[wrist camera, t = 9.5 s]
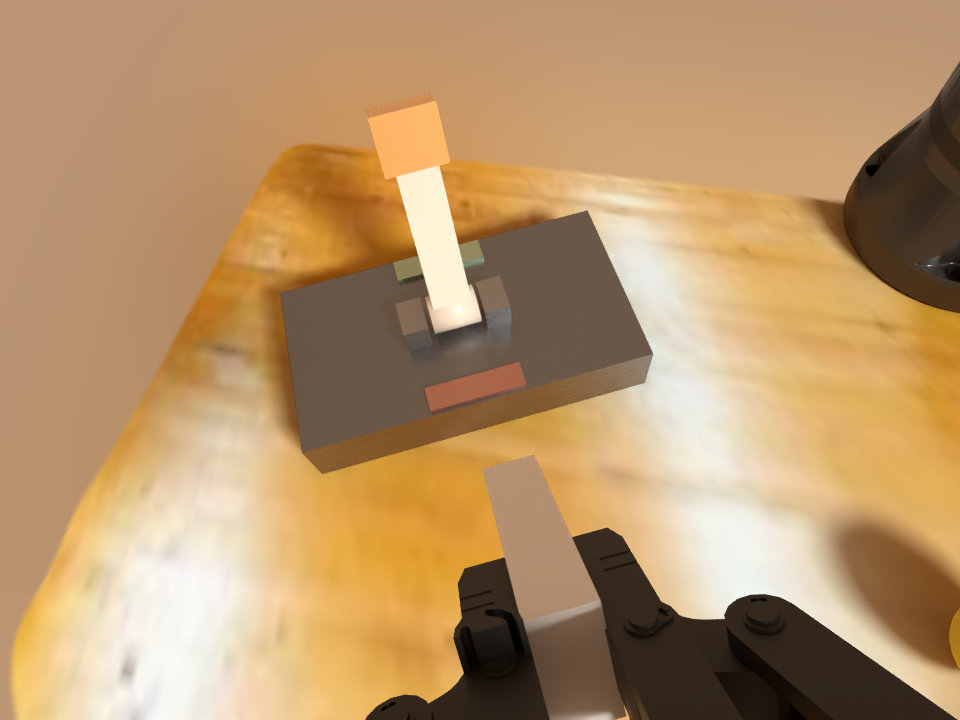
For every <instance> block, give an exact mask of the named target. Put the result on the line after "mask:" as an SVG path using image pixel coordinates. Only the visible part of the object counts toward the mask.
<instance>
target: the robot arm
mask: <svg viewBox="0 0 960 720" xmlns="http://www.w3.org/2000/svg"><path fill="white" fill-rule="evenodd" d="M844 220H845V226H846V230H847V232H848V235H849V238H850V240H851V242H852V244H853V246H854V248H855V249H856V251H857V252H858V254H859V255H860V256H861V258H862V259H863V260H864V261H865V262H866V264H867V265H868V266H869V267H870V268H871V269H872V270H873V271H874V272H875V273H876V274H878V275H879V276H880V277H881V278H882V279H884V280H885V281H886V282H888V283H889V284H890V285H892V286H893V287H895V288H897V289H898V290H900V291H901V292H903V293H905V294H907V295H909V296H911V297H913V298H915V299H917V300H919V301H922V302H924V303H927V304H929V305H932V306H935V307H938V308H942V309H945V310H949V311H953V312H958V313H960V62H959V63H958V65H957V66H956V68H955V69H954V71H953V72H952V74H951V75H950V77H949V79H948V80H947V82H946V83H945V85H944V87H943V88H942V90H941V91H940V93H939V94H938V96H937V98H936V99H935V101H934V102H933V104H932V105H931V106H930V107H929V108H928V109H926V110H925V111H924V112H923V113H921V114H920V115H919V116H918V117H917V118H915V119H914V120H913V121H912V122H910V123H909V124H908V125H907V126H905V127H904V128H903V129H902V130H901V131H899V132H898V133H897V134H896V135H894V136H893V137H892V138H891V139H889V140H888V141H887V142H886V143H884V144H883V145H882V146H881V147H880V148H878V149H877V150H876V151H875V152H874V153H873V154H872V155H871V156H870V157H869V158H868V160H867V161H866V162H865V163H864V165H863V166H862V168H861V169H860V171H859V173H858V175H857V176H856V178H855V180H854V181H853V183H852V185H851V187H850V188H849V191H848V193H847V196H846V199H845V204H844ZM483 473H484V477H485V481H486V485H487V489H488V493H489V497H490V501H491V505H492V509H493V513H494V516H495V520H496V524H497V528H498V532H499V536H500V540H501V544H502V548H503V552H504V556H505V558H501V559H497V560H494V561H490V562H487V563H483V564H479V565H476V566H472V567H468V568H465V569H464V571H463V573H462V576H461V578H460V580H459V582H458V589H459V598H460V606H461V613H462V619H461V621H460V622H459V624H458V625H457V627H456V628H455V632H454V638H453V639H454V642H455V645H456V649H457V652H458V655H459V658H460V662H461V665H462V668H463V671H464V674H463V675H462V677H461V678H460V680H459V681H458V683H457V684H456V685H455V686H454V687H453V688H452V689H451V690H449V691H448V692H446V693H445V694H444V695H442V696H441V697H439V698H437V699H435V700H434V701H432V702H430V703H429V704H428V703H427V701H426V700H424V699H422V698H420V697H418V696H415V695H401V696H397V697H393V698H390V699H389V700H387V701H385V702H383V703H382V704H380V705H378V706H377V707H376V708H375V709H374V710H373V711H372V712H371V713H370V714H369V715H368V716H367V718H366V720H615V719H618V718H622V717H625V716H626V713H625V708H626V710H627V713H628V715H629V717H630V720H957V719H956V718H954V717H953V716H951V715H950V714H949V713H947V712H946V711H944V710H943V709H941V708H940V707H939V706H937V705H936V704H934V703H933V702H932V701H930V700H929V699H927V698H926V697H924V696H923V695H922V694H920V693H919V692H917V691H916V690H914V689H913V688H912V687H910V686H909V685H907V684H906V683H905V682H903V681H902V680H900V679H899V678H897V677H896V676H895V675H893V674H892V673H890V672H889V671H887V670H886V669H885V668H883V667H882V666H880V665H879V664H878V663H876V662H875V661H873V660H872V659H870V658H869V657H868V656H866V655H865V654H863V653H862V652H860V651H859V650H858V649H856V648H855V647H853V646H852V645H851V644H849V643H848V642H846V641H845V640H843V639H842V638H841V637H839V636H838V635H836V634H835V633H833V632H832V631H831V630H829V629H828V628H826V627H825V626H824V625H822V624H821V623H819V622H818V621H816V620H815V619H814V618H812V617H811V616H809V615H808V614H806V613H805V612H804V611H802V610H801V609H799V608H798V607H797V606H795V605H794V604H792V603H790V602H788V601H786V600H784V599H782V598H780V597H776V596H771V595H766V594H759V595H748V596H745V597H742V598H739V599H737V600H736V601H734V602H733V603H732V604H730V605H729V606H728V608H727V610H726V612H725V615H724V616H725V619H712V620H701V619H691V618H686V617H682V616H680V615H678V613H677V612H676V611H675V610H674V609H673V608H672V607H671V606H669V605H667V604H665V603H662V602H661V601H660V599H659V597H658V596H657V594H656V592H655V590H654V589H653V587H652V585H651V584H650V582H649V580H648V579H647V577H646V575H645V574H644V572H643V570H642V569H641V567H640V565H639V564H638V563H637V560H636V559H635V557H634V555H633V554H632V552H631V551H630V549H629V547H628V545H627V544H626V542H625V540H624V539H623V537H622V536H620V535H619V534H617V533H615V532H614V531H612V530H610V529H609V528H604V529H601V530H597V531H593V532H590V533H586V534H582V535H579V536H575V537H571V534H570V532H569V530H568V528H567V526H566V523H565V521H564V519H563V517H562V515H561V512H560V510H559V508H558V506H557V504H556V501H555V499H554V497H553V495H552V493H551V490H550V488H549V486H548V484H547V482H546V480H545V477H544V475H543V473H542V471H541V469H540V466H539V464H538V462H537V460H536V458H535V455H532V456H528V457H524V458H521V459H517V460H513V461H509V462H506V463H502V464H498V465H495V466H491V467H487V468H484V469H483ZM623 703H624V704H623ZM624 705H625V708H624Z"/></svg>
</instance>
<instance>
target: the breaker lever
mask: <svg viewBox="0 0 960 720" xmlns="http://www.w3.org/2000/svg"><path fill="white" fill-rule="evenodd" d="M366 111H367V117H368V121H369V125H370V128H371V131H372V135H373V138H374V142H375V145H376V149H377V152H378V156H379V159H380V163H381V166H382V170H383V173H384V177H385V179H389V178H393V177H396V178H397V181H398V185H399V188H400V192H401V195H402V199H403V203H404V206H405V210H406V213H407V217H408V220H409V224H410V228H411V231H412V235H413V238H414V242H415V245H416V249H417V253H418V256H419V260H420V263H421V267H422V271H423V274H424V278H425V281H426V285H427V288H428V292H429V296H427V297H425V299H426V303H427V307H428V310H429V314H430V317H431V321H432V325H433V328H434V331H435V334H438V333H441V332H445V331H449V330H452V329H456V328H460V327H463V326H467V325H470V324H474V323H478V322H481V315H480V310H479V306H478V303H477V299H476V296H475V292H474V289H473V287H472V285H468V283H467V279H466V275H465V271H464V266H463V262H462V258H461V254H460V250H459V246H458V242H457V238H456V233H455V229H454V225H453V221H452V217H451V213H450V209H449V205H448V200H447V196H446V192H445V188H444V184H443V180H442V176H441V172H440V167H439V165H442V164H446V163H450V159H449V155H448V151H447V146H446V142H445V138H444V134H443V129H442V125H441V120H440V116H439V112H438V108H437V103H436V100H435V99H434V98H433V96H432V95H431V94H426V95H422V96H418V97H414V98H410V99H407V100H403V101H399V102H395V103H391V104H387V105H384V106H380V107H376V108H372V109H368V110H366Z"/></svg>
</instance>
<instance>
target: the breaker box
mask: <svg viewBox="0 0 960 720" xmlns="http://www.w3.org/2000/svg"><path fill="white" fill-rule="evenodd" d="M458 246H459V250H460V254H461V258H462V262H463V266H464V271H465V275H466V279H467V283H468V285H472V287H473V289H474V292H475V296H476V299H477V303H478V306H479V310H480V315H481V322H478V323H474V324H470V325H467V326H463V327H460V328H456V329H452V330H449V331H445V332H441V333H438V334H435V331H434V328H433V325H432V321H431V317H430V314H429V310H428V307H427V303H426V299H425V297H427V296H429V292H428V288H427V285H426V281H425V278H424V274H423V271H422V267H421V263H420V260H419V256H415V257H411V258H407V259H404V260H400V261H396V262H393V263H390V264H387V265H383V266H379V267H376V268H372V269H368V270H364V271H361V272H357V273H353V274H350V275H346V276H342V277H338V278H335V279H331V280H327V281H324V282H320V283H316V284H312V285H309V286H305V287H301V288H298V289H294V290H290V291H286V292H283V293H280V295H281V303H282V310H283V317H284V324H285V332H286V339H287V346H288V353H289V360H290V368H291V375H292V382H293V389H294V396H295V404H296V411H297V418H298V425H299V433H300V440H301V447H302V453H303V454H304V455H305V456H306V457H307V458H308V459H309V460H310V461H311V462H312V463H313V464H314V465H315V467H316V468H317V469H318V470H319V471H320V472H321V473H322V474H324V473H328V472H331V471H335V470H338V469H342V468H345V467H349V466H352V465H356V464H359V463H363V462H366V461H370V460H373V459H377V458H380V457H384V456H388V455H391V454H395V453H398V452H402V451H405V450H409V449H412V448H416V447H419V446H423V445H426V444H430V443H433V442H437V441H441V440H444V439H448V438H451V437H455V436H458V435H462V434H465V433H469V432H472V431H476V430H479V429H483V428H486V427H490V426H494V425H497V424H501V423H504V422H508V421H511V420H515V419H518V418H522V417H525V416H529V415H532V414H536V413H539V412H543V411H547V410H550V409H554V408H557V407H561V406H564V405H568V404H571V403H575V402H578V401H582V400H585V399H589V398H592V397H596V396H600V395H603V394H607V393H610V392H614V391H617V390H621V389H624V388H628V387H631V386H635V385H638V384H642V383H645V379H646V376H647V373H648V369H649V366H650V363H651V359H652V356H653V353H652V350H651V348H650V346H649V344H648V342H647V339H646V337H645V335H644V333H643V331H642V329H641V326H640V324H639V322H638V320H637V318H636V315H635V313H634V311H633V309H632V307H631V305H630V302H629V300H628V298H627V296H626V294H625V291H624V289H623V287H622V285H621V283H620V281H619V278H618V276H617V274H616V272H615V270H614V267H613V265H612V263H611V261H610V259H609V257H608V254H607V252H606V250H605V248H604V246H603V243H602V241H601V239H600V237H599V235H598V233H597V230H596V228H595V226H594V224H593V222H592V219H591V217H590V215H589V213H588V211H584V212H580V213H576V214H572V215H569V216H565V217H561V218H558V219H554V220H550V221H546V222H543V223H539V224H535V225H532V226H528V227H524V228H520V229H517V230H513V231H509V232H506V233H502V234H498V235H494V236H491V237H487V238H483V239H480V240H474V241H470V242H467V243H463V244H459V245H458Z"/></svg>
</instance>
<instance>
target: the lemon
mask: <svg viewBox="0 0 960 720" xmlns="http://www.w3.org/2000/svg"><path fill="white" fill-rule="evenodd" d="M949 643H950V647H951V652H952V655H953V657H954V659H955V661H956V664H957V666H958V667H959V669H960V608H959V609H958V611H957V612H956V613H955V615H954V617H953V620H952V623H951V625H950V628H949Z"/></svg>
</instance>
